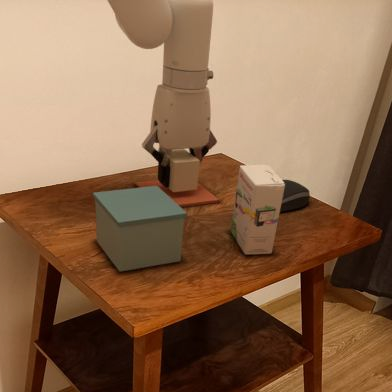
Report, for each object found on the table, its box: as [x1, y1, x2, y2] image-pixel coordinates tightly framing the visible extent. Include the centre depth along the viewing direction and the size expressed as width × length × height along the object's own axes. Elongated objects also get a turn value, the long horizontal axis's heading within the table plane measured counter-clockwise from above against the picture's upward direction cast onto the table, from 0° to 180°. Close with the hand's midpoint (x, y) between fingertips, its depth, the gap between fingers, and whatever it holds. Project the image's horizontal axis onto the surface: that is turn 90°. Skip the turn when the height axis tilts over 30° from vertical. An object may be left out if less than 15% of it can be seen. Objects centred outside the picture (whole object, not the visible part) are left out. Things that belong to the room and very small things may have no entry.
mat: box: [135, 179, 220, 208], centre depth 103 cm, size 12×12×1 cm
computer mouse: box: [280, 179, 311, 213], centre depth 103 cm, size 7×12×4 cm, turn 129°
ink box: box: [229, 163, 285, 256], centre depth 86 cm, size 8×5×12 cm, turn 14°
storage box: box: [92, 186, 188, 273], centre depth 81 cm, size 11×11×8 cm
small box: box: [168, 149, 200, 192], centre depth 100 cm, size 5×6×6 cm
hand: (177, 182), depth 102 cm, fingers closed on small box, 5 cm apart
